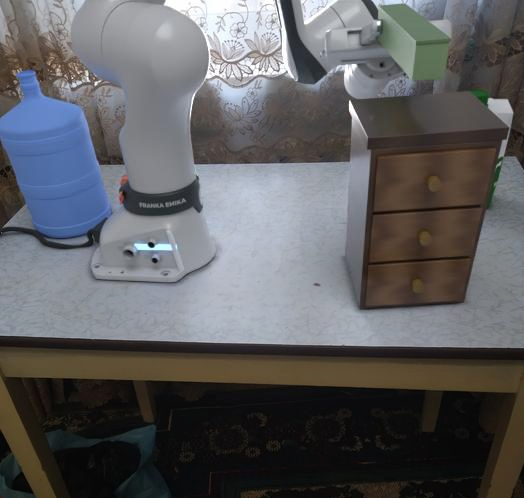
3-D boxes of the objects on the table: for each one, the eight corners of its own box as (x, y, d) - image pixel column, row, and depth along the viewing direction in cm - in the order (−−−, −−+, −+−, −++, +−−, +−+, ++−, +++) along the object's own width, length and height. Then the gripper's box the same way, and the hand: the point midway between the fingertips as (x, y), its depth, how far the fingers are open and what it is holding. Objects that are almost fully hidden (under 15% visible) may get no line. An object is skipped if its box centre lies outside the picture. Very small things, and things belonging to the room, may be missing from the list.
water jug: (119, 228, 105) (77, 75, 86) (38, 247, 101) (-23, 92, 83) (106, 197, 116) (66, 56, 97) (33, 214, 112) (-23, 70, 94)
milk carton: (443, 189, 109) (461, 85, 95) (489, 191, 107) (514, 85, 94) (445, 209, 102) (465, 100, 89) (494, 211, 100) (522, 100, 87)
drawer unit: (357, 316, 79) (370, 143, 62) (342, 257, 92) (349, 99, 74) (471, 309, 79) (515, 132, 61) (440, 251, 91) (469, 90, 74)
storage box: (411, 81, 66) (416, 41, 63) (375, 38, 84) (377, 5, 81) (445, 79, 66) (451, 38, 63) (401, 36, 84) (405, 3, 81)
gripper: (317, 40, 92) (326, 5, 78) (435, 31, 91) (464, -6, 78) (319, 79, 93) (328, 52, 80) (435, 70, 93) (463, 41, 79)
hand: (396, 23), depth 79 cm, fingers closed on storage box, 4 cm apart
